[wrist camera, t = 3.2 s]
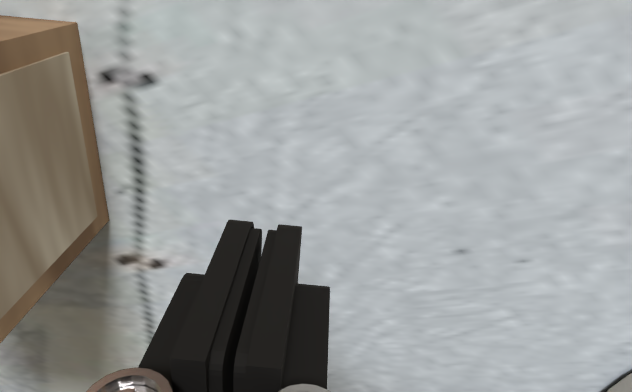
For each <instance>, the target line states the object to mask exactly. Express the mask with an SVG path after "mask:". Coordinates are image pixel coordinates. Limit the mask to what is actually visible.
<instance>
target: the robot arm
mask: <svg viewBox="0 0 632 392" xmlns="http://www.w3.org/2000/svg"><path fill="white" fill-rule="evenodd" d="M301 234H302V227H300V226H290V225H278V228H277V231H276V230H268V233H267V237H266V241H265V244H264V248H263V252H262V256H261V247H262V230H261V229H255V228H254V224H253V222H248V221H237V220H228V222H227V224H226V226H225V229H224V231H223V234H222V236H221V238H220V241H219V243H218V245H217V248H216V250H215V252H214V255H213V257H212V259H211V262H210V264H209V266H208V269H207V271H206V274H205V275H202V274H192V273H186V274H185V275H184V276H183V278H182V280H181V282H180V284H179V286H178V288H177V290H176V292H175V294H174V296H173V298H172V300H171V302H170V304H169V306H168V308H167V310H166V312H165V314H164V316H163V318H162V320H161V322H160V324H159V326H158V328H157V330H156V332H155V334H154V336H153V338H152V341H151V343H150V345H149V347H148V349H147V351H146V353H145V355H144V357H143V359H142V361H141V363H140V365H139V367H138V368H130V369H123V370H119V371H117V372H114V373H112V374H109V375H107V376H105V377H104V378H102V379H100V380H99V381H97V382H96V383H94V384H93V385H92V386H91V387H90V388H89V389H88V390H87V391H86V392H330V391H329V390H327V365H328V333H329V300H330V287H327V286H316V285H306V284H298V271H299V259H300V246H301ZM607 392H632V373H631V374H629V375H627V376H626V377H625V378H623V379H622V380H621V381H619V382H618V383H617V384H615V385H614V386H612V387H611V388H610V389H609V390H608V391H607Z"/></svg>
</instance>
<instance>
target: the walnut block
mask: <svg viewBox="0 0 632 392" xmlns="http://www.w3.org/2000/svg"><path fill="white" fill-rule="evenodd" d="M108 221H109V216H108V210H107V204H106V198H105V191H104V185H103V179H102V173H101V167H100V161H99V154H98V148H97V142H96V136H95V130H94V124H93V117H92V111H91V105H90V99H89V93H88V87H87V81H86V74H85V68H84V62H83V56H82V50H81V44H80V37H79V31H78V25H77V23H76V22H65V21H54V20H44V19H33V18H22V17H12V16H1V15H0V343H1V342H2V341H3V340H4V339H5V337H6V336H7V335H8V334H9V333H10V332H11V331H12V329H13V328H14V327H15V326H16V325H17V324H18V323H19V322H20V320H21V319H22V318H23V317H24V316H25V315H26V314H27V313H28V311H29V310H30V309H31V308H32V307H33V306H34V305H35V303H36V302H37V301H38V300H39V299H40V298H41V297H42V296H43V294H44V293H45V292H46V291H47V290H48V289H49V288H50V286H51V285H52V284H53V283H54V282H55V281H56V280H57V279H58V277H59V276H60V275H61V274H62V273H63V272H64V271H65V270H66V268H67V267H68V266H69V265H70V264H71V263H72V262H73V260H74V259H75V258H76V257H77V256H78V255H79V254H80V253H81V251H82V250H83V249H84V248H85V247H86V246H87V245H88V243H89V242H90V241H91V240H92V239H93V238H94V237H95V236H96V234H97V233H98V232H99V231H100V230H101V229H102V228H103V227H104V225H105V224H106V223H107V222H108Z"/></svg>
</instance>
